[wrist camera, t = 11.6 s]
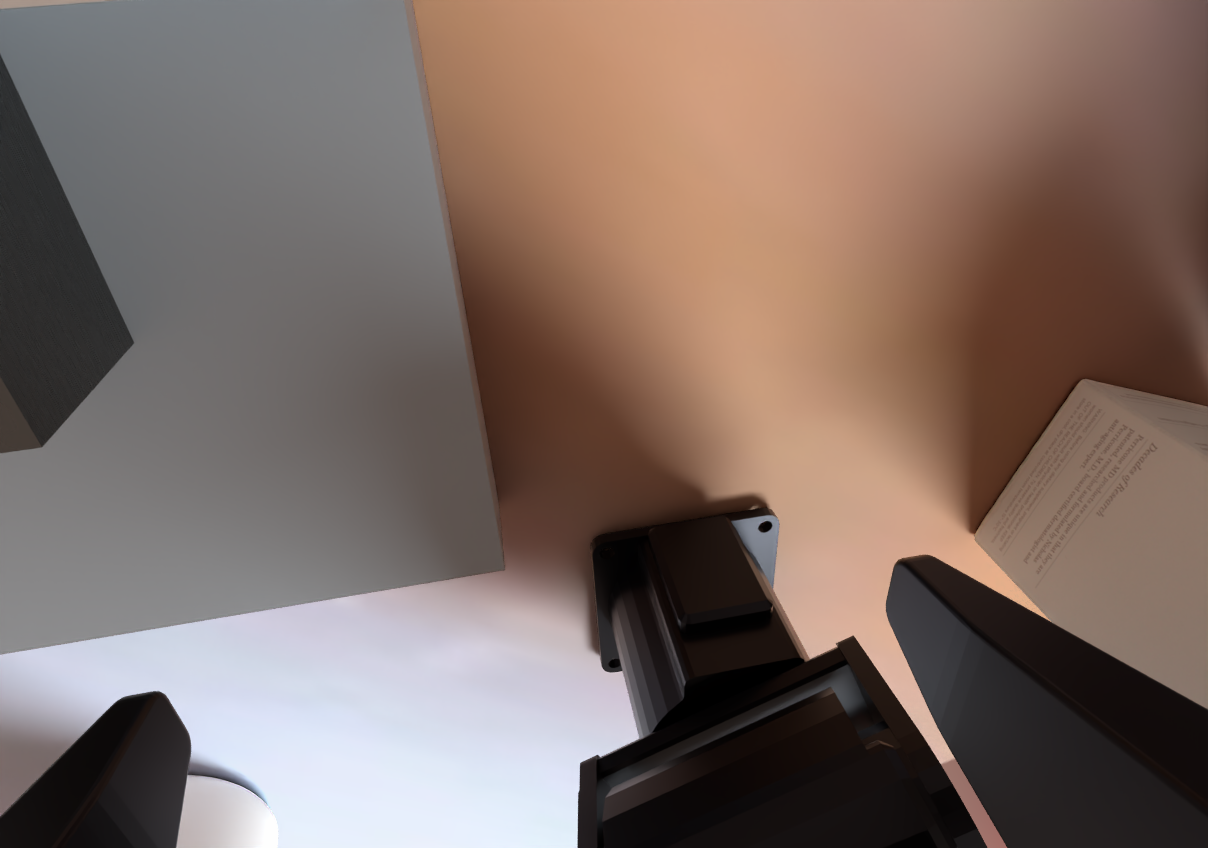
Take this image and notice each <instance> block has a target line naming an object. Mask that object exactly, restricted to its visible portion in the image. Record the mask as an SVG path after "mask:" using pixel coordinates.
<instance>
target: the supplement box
mask: <svg viewBox="0 0 1208 848" xmlns="http://www.w3.org/2000/svg"><path fill="white" fill-rule="evenodd" d="M975 541H976V542H977V543H978V545H979V546H980V547H981V548H982V549H983V550H984V551H985V552H986V553H987V554H988V555H989V556H990V557H991V558H992V559H993V560H994V562H995V563H996V564H997V565H998V566H999V567H1000V568H1001V569H1002V570H1003V571H1004V572H1005V573H1006V574H1007V576H1008V577H1009V578H1010V579H1011V580H1012V581H1013V582H1014V583H1015V584H1016V585H1017V586H1018V587H1019V588H1020V589H1021V590H1022V591H1023V592H1024V593H1025V594H1026V596H1027V597H1028V598H1029V599H1030V600H1031V601H1032V602H1033V603H1034V604H1035V605H1036V606H1037V607H1038V608H1039V609H1040V610H1041V611H1042V612H1043V613H1044V614H1045V615H1046V616H1047V618H1048V619H1049V620H1050V621H1051V622H1052V623H1054V624H1056V625H1057V626H1059V627H1061V628H1063V629H1065V630H1066V631H1068V632H1070V633H1072V634H1074V635H1075V636H1077V637H1079V638H1081V639H1083V640H1084V641H1086V642H1088V643H1090V644H1092V645H1093V646H1095V647H1097V648H1099V649H1101V650H1102V651H1104V652H1106V653H1108V654H1110V655H1111V656H1113V657H1115V658H1117V659H1119V660H1120V661H1122V662H1124V663H1126V664H1128V665H1129V666H1131V667H1133V668H1135V669H1137V670H1138V671H1140V672H1142V673H1144V674H1146V675H1147V676H1149V677H1151V678H1153V679H1154V680H1156V681H1158V682H1160V683H1162V684H1163V685H1165V686H1167V687H1169V688H1171V689H1172V690H1174V691H1176V692H1178V693H1180V694H1181V695H1183V696H1185V697H1187V698H1189V699H1190V700H1192V701H1194V702H1196V703H1198V704H1199V705H1201V706H1203V707H1205V708H1207V709H1208V407H1207V406H1203V405H1199V404H1195V403H1190V402H1186V401H1182V400H1177V399H1173V398H1168V397H1164V396H1159V395H1155V394H1150V393H1146V392H1142V391H1137V390H1133V389H1128V388H1124V387H1119V386H1115V385H1110V384H1105V383H1101V382H1096V381H1092V380H1089V379H1083V380H1081V381H1080V382H1079V383H1078V384H1077V386H1076V387H1075V389H1074V390H1073V391H1072V392H1071V394H1070V395H1069V397H1068V398H1067V400H1066V401H1065V403H1064V404H1063V405H1062V407H1061V408H1060V410H1059V411H1058V412H1057V414H1056V415H1055V417H1054V418H1053V420H1052V421H1051V423H1050V424H1049V426H1048V427H1047V429H1046V430H1045V431H1044V433H1043V434H1042V436H1041V437H1040V438H1039V440H1038V441H1037V443H1036V444H1035V445H1034V447H1033V448H1032V450H1031V451H1030V453H1029V455H1028V456H1027V458H1026V459H1025V460H1024V462H1023V463H1022V464H1021V466H1020V467H1019V468H1018V470H1017V471H1016V473H1015V474H1014V476H1013V477H1012V479H1011V480H1010V482H1009V483H1008V485H1007V486H1006V488H1005V489H1004V491H1003V492H1002V494H1001V495H1000V496H999V498H998V500H997V501H996V503H995V504H994V506H993V507H992V508H991V510H990V511H989V512H988V514H987V515H986V517H985V518H984V520H983V521H982V523H981V525H980V527H979V528H978V530H977V531H976V533H975Z"/></svg>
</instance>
